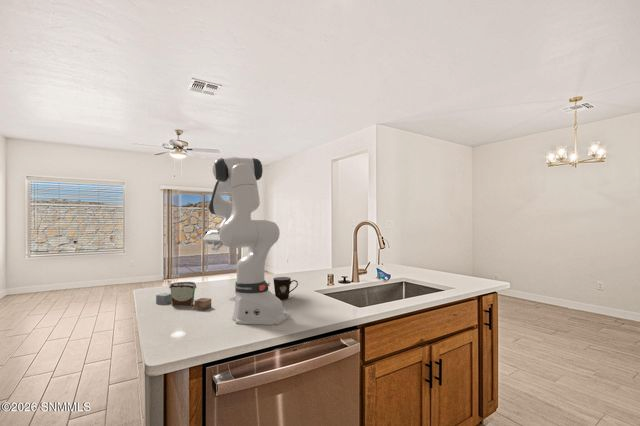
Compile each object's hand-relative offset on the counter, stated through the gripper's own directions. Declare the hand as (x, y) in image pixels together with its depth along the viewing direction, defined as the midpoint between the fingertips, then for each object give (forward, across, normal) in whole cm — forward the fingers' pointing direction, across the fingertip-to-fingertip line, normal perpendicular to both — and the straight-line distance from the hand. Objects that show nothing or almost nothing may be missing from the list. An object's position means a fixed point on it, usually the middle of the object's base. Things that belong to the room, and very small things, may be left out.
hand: (214, 249), depth 162 cm
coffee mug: (+15, +41, +17) cm, 47 cm away
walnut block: (+34, +12, -1) cm, 36 cm away
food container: (+32, 0, +1) cm, 32 cm away
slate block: (+32, -12, +1) cm, 34 cm away
